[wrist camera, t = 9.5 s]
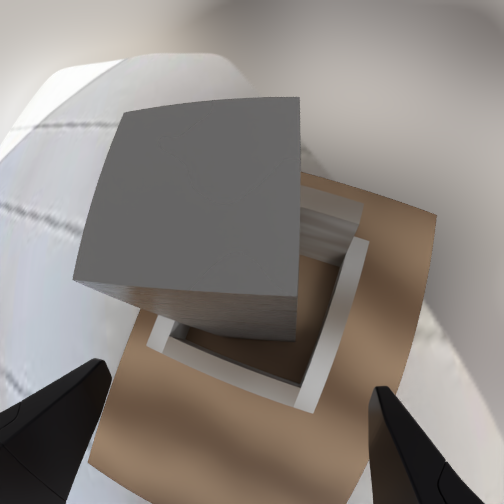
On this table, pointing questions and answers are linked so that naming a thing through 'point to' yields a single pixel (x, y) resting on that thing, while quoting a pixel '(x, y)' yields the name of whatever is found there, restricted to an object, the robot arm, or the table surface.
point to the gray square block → (202, 216)
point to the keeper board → (276, 370)
